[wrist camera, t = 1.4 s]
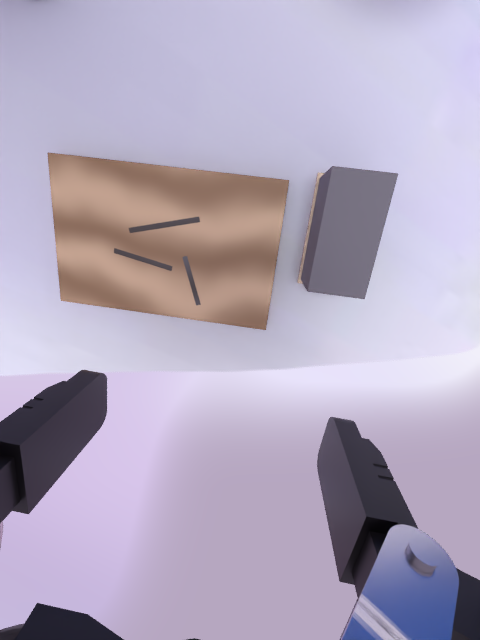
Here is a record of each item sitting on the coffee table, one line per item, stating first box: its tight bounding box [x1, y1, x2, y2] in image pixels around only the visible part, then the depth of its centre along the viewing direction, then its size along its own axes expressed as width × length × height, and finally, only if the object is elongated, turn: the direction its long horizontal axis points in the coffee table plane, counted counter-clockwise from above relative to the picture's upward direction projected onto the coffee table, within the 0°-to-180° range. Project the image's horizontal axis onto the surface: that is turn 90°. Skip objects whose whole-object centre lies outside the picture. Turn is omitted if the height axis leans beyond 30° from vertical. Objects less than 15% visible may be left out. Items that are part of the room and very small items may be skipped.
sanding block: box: [298, 166, 398, 299], centre depth 25 cm, size 10×5×6 cm, turn 173°
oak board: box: [48, 153, 289, 330], centre depth 28 cm, size 14×22×2 cm, turn 83°
